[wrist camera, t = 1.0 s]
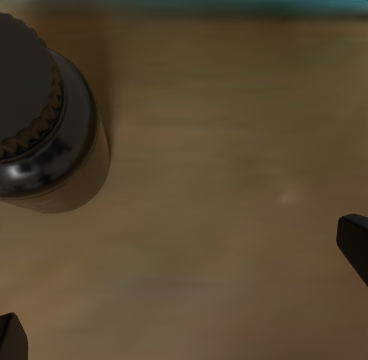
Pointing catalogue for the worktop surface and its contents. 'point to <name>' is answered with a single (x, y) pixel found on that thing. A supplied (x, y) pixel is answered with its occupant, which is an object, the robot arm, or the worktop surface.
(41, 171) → the supplement bottle
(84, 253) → the worktop surface
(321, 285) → the worktop surface
